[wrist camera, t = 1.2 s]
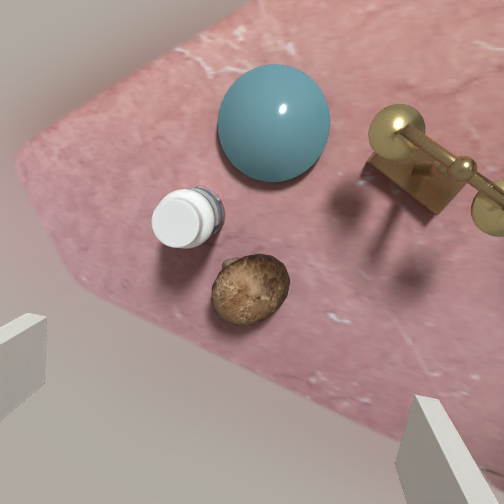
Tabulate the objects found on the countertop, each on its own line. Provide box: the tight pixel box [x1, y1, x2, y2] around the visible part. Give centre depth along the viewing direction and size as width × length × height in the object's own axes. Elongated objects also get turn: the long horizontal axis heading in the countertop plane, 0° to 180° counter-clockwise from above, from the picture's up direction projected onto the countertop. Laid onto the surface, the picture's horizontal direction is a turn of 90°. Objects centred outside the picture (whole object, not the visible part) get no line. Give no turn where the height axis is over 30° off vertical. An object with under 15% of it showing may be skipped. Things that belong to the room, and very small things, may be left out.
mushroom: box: [211, 254, 290, 325], centre depth 38 cm, size 8×8×6 cm
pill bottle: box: [152, 186, 226, 249], centre depth 36 cm, size 5×5×9 cm
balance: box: [366, 104, 504, 237], centre depth 31 cm, size 13×4×12 cm, turn 53°
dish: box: [218, 64, 330, 182], centre depth 37 cm, size 10×10×1 cm
